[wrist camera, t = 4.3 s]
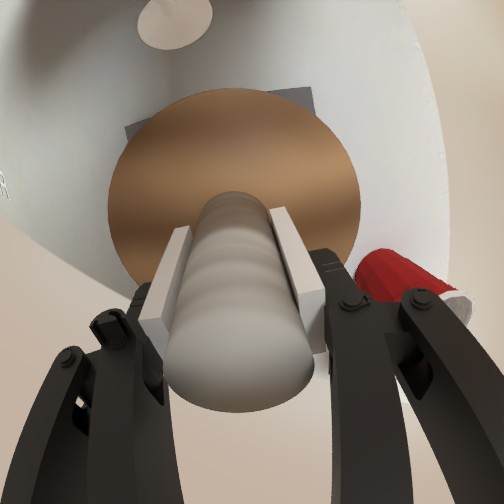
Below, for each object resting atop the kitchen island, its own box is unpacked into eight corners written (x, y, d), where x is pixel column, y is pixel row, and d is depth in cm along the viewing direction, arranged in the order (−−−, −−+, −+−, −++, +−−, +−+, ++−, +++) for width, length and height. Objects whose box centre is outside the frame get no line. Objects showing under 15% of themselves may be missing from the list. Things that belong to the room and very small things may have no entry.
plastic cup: (349, 322, 33) (384, 399, 22) (320, 257, 28) (365, 341, 17) (420, 282, 31) (472, 345, 20) (407, 211, 26) (481, 268, 15)
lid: (85, 133, 13) (-64, 191, 3) (341, 76, 13) (497, 56, 3) (160, 328, 20) (132, 460, 11) (353, 293, 20) (417, 417, 10)
